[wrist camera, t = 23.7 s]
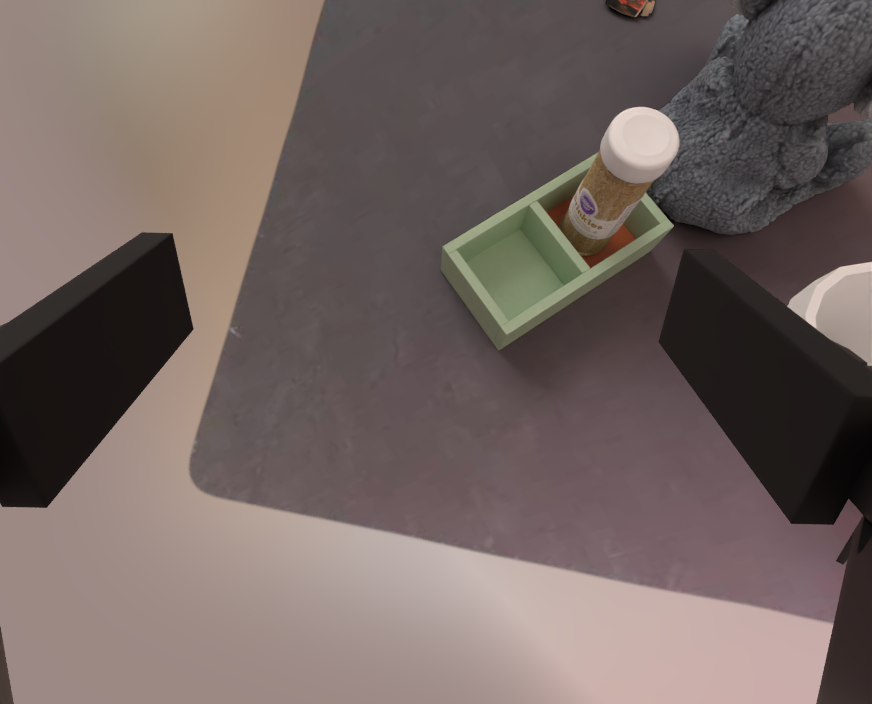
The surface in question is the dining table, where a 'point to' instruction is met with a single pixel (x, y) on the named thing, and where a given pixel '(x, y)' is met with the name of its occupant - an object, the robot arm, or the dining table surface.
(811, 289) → the foam cup
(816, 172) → the koala plush
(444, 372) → the dining table surface
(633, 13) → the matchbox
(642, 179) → the sprinkles bottle
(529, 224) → the green divided tray
